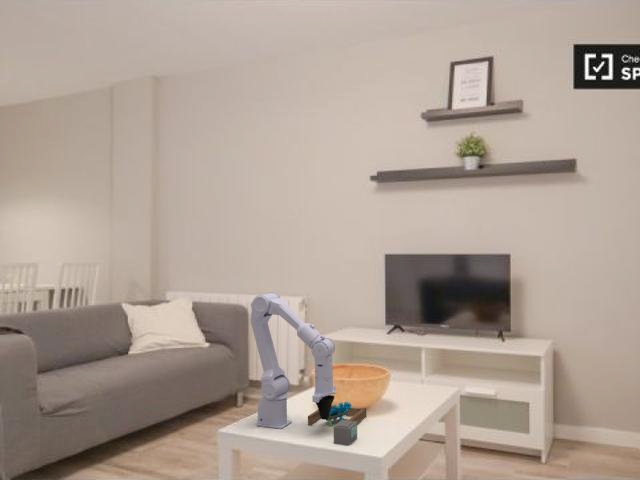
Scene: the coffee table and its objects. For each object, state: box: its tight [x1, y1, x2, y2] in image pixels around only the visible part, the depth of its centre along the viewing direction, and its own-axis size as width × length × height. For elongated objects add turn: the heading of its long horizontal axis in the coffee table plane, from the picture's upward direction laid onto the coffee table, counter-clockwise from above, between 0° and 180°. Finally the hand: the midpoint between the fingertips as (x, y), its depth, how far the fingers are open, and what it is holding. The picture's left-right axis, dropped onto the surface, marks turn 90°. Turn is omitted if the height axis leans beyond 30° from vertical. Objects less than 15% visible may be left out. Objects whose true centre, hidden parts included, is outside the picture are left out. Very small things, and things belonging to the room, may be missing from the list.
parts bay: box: [307, 404, 367, 426], centre depth 195 cm, size 15×15×3 cm
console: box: [333, 419, 358, 446], centre depth 175 cm, size 5×7×5 cm
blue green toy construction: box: [325, 401, 353, 427], centre depth 192 cm, size 11×6×10 cm
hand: (324, 419), depth 185 cm, fingers closed
